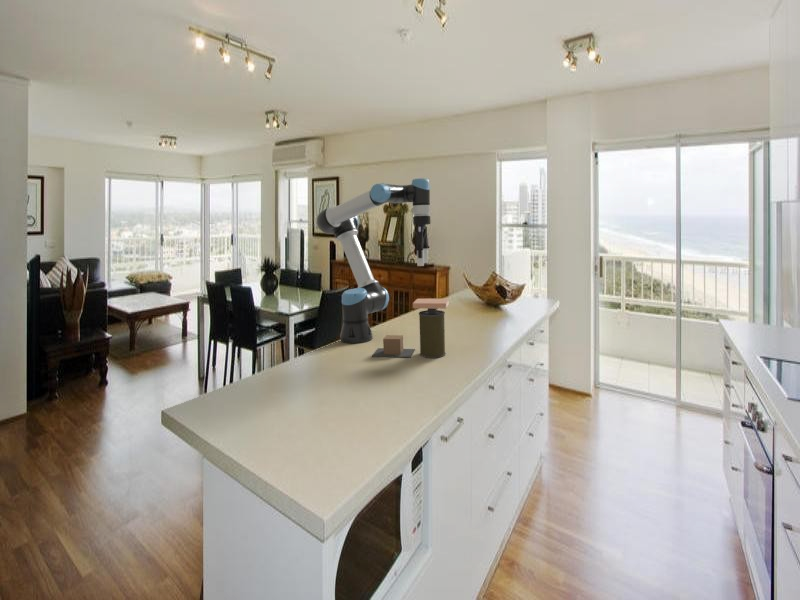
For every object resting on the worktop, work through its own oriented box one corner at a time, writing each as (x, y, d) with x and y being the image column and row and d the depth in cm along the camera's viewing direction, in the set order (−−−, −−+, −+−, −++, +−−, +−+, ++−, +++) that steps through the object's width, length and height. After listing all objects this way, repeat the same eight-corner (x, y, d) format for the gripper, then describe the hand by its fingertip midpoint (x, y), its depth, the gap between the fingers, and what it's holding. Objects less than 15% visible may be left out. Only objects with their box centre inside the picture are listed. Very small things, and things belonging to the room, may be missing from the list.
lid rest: (371, 357, 174) (370, 340, 173) (378, 349, 185) (377, 333, 184) (410, 358, 171) (410, 341, 170) (415, 350, 182) (414, 334, 181)
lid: (412, 308, 168) (412, 303, 168) (417, 303, 179) (417, 298, 178) (446, 308, 165) (446, 303, 165) (448, 303, 176) (448, 298, 176)
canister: (444, 358, 169) (443, 308, 166) (418, 357, 171) (416, 308, 168) (446, 350, 180) (446, 303, 176) (422, 350, 182) (420, 303, 178)
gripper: (417, 216, 200) (418, 261, 203) (408, 215, 176) (409, 267, 179) (433, 215, 198) (434, 261, 202) (426, 214, 174) (427, 267, 178)
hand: (422, 264), depth 191 cm, fingers open, 13 cm apart
